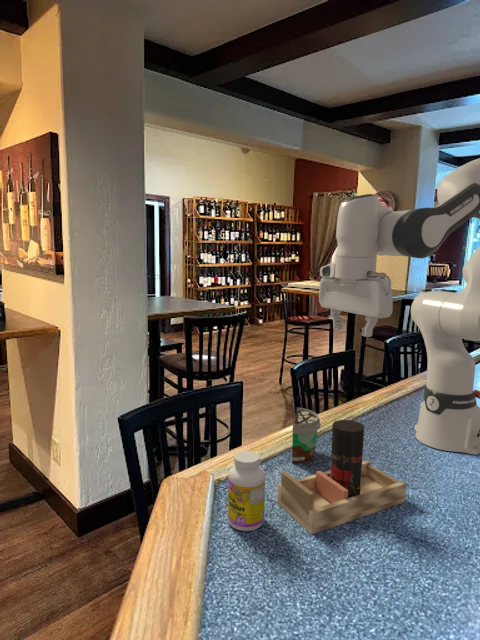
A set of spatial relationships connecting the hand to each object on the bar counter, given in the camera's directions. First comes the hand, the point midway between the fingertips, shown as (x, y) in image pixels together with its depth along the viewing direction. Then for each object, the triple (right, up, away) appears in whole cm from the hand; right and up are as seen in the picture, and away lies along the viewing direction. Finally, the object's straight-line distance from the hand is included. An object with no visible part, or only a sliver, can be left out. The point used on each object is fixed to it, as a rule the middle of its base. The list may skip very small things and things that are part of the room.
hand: (351, 332), depth 103 cm
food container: (-9, -30, +8) cm, 33 cm away
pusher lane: (-5, -33, -12) cm, 36 cm away
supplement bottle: (-24, -34, -19) cm, 46 cm away
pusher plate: (-7, -32, -13) cm, 36 cm away
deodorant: (-4, -33, -12) cm, 35 cm away
